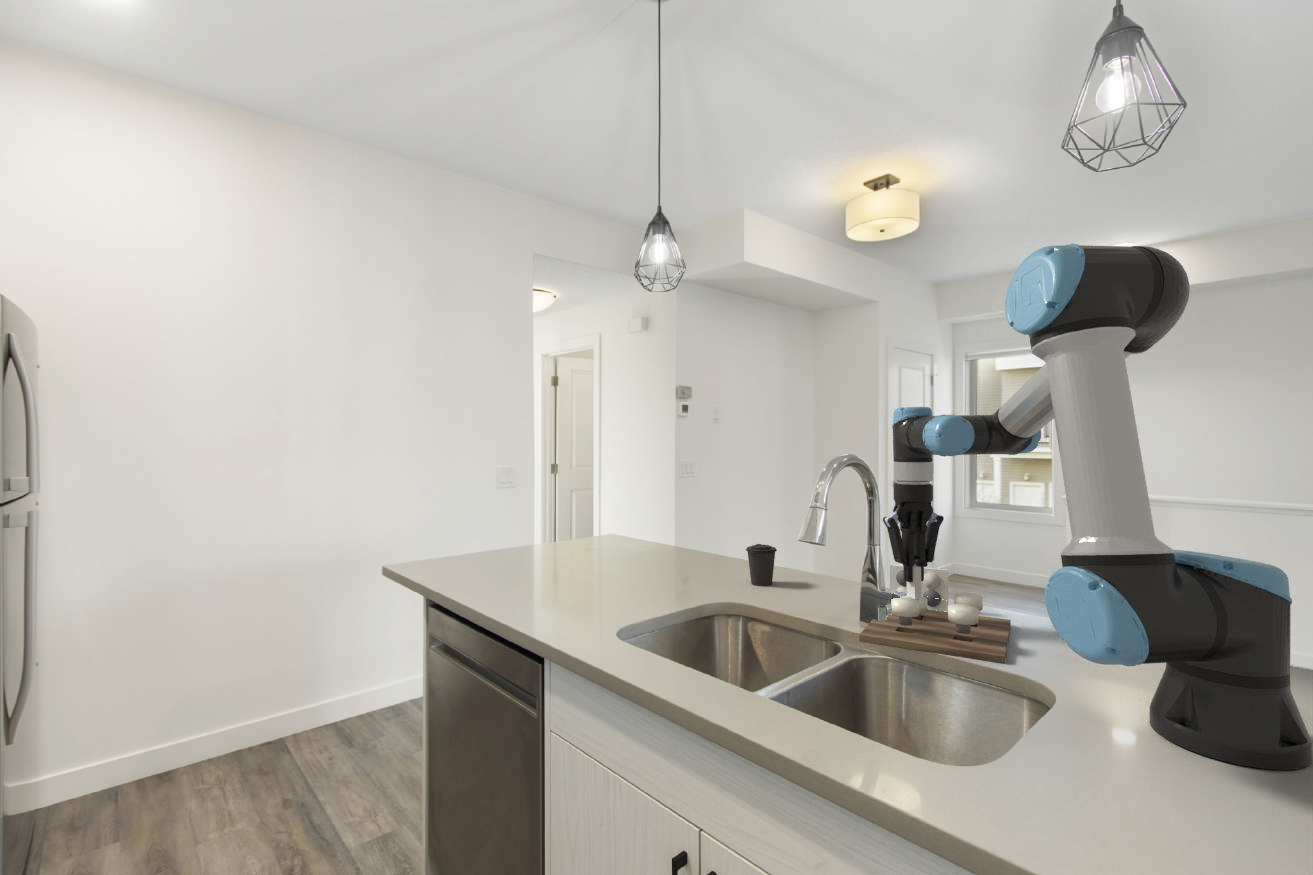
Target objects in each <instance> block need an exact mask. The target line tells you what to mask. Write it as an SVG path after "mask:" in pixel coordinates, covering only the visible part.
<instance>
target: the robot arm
mask: <svg viewBox="0 0 1313 875" xmlns="http://www.w3.org/2000/svg"><path fill="white" fill-rule="evenodd" d="M1190 291H1191V290H1190V280H1189V277H1188V274H1187V271H1186V270H1185V268H1184V266H1183V265H1182V263H1181V262H1180V261H1179V260H1178V259H1177V258H1175V257H1174V256H1173V255H1171V254H1170V253H1169V252H1166V251H1165V250H1161V249H1160V248H1156V247H1151V246H1145V245H1132V246H1128V245H1127V246H1125V245H1122V246H1121V245H1120V246H1119V245H1084V244H1083V245H1080V244H1077V243H1069V244H1064V245H1047V246H1043V247H1041V248H1038V249H1036V250H1034V251H1033V252H1031V253H1030V254H1029V255H1028V256H1027V257H1026V258H1024V259H1023V260H1022V261H1021V263H1020V265H1018V267H1017V269H1016V270H1015V271H1014V274H1013V277H1012V278H1011V280H1010V282H1009V285H1008V288H1007V292H1006V295H1005V302H1004V304H1005V305H1004V307H1005V308H1004V310H1005V316H1006V320H1007V323H1008V325H1009V327H1012V330H1014V331H1015V332H1017V333H1019V334H1021V335H1024V336H1025V335H1027V336H1029V342H1030V343H1029V344H1030V351H1031V354H1032V355H1034V357H1036V358H1039V359H1040V360H1042V361H1043V362H1045V363H1044V364H1043V365H1042V366H1041V367H1040V368H1039V369H1038V370H1037V371H1036V372H1035V373H1034V374H1033V375H1032V376H1031V377H1030V378H1029V379H1028V380H1027V381H1025V383H1024V384H1022V386H1020V388H1019V389H1018V390H1017V391H1016V392H1015V393H1014V394H1013V395H1011V397H1010V398H1008V400H1007V401H1006V402H1004V403H1003V405H1002V406H1001V407H999V408H998V409H997V410H996V411H995V412H994V413H993V414H975V415H974V414H971V415H968V414H967V415H965V414H963V415H962V414H960V415H959V414H957V415H956V414H940V415H933V410H932V409H931V407H929V406H910V407H909V406H908V407H897V408H895V409H894V411H893V414H892V415H893V418H892V424H891V426H892V427H891V428H892V449H893V450H892V452H893V454H892V455H893V456H892V457H893V480H894V481H896V482H894V484H893V486H892V487H893V500H894V507H893V509H892V513H890V515H889V516H884V517H882V522H883V524H884V525H885V527H886V530H887V533H888V537H889V542H890V546H891V550H892V555H893V559H894V562H895V563H898V564H901V565H902V566H903V567H904V581H907V592H908V593H907V596H908V597H911V598H913V599H921V581H923V580H924V568H927V567H928V563H932V562H933V561H934V556H935V552H936V546H937V541H938V537H939V532H940V527H941V525H942V524H943V521H945V520H944V516H943V515H940V514H937V513H936V512H934V507H933V505H932V502H933V501H934V485H933V484H932V483H931V482H932V481H934V464H933V463H934V458H933V457H934V456H940V457H955V456H966V455H967V456H970V455H972V456H973V455H976V456H977V455H1009V456H1015V455H1018V454H1027V453H1032V452H1033V451H1035V450H1036V449H1037V448H1038V446H1039V442H1040V441H1041V439H1042V429H1044V427H1045V426H1047V425H1048V424H1049V423H1050V422H1052V421H1053V420H1054V423H1055V424H1054V425H1055V431H1056V437H1057V445H1058V452H1059V458H1060V464H1061V472H1062V477H1063V478H1062V479H1063V484H1064V493H1065V499H1066V506H1067V512H1068V519H1069V525H1070V527H1069V528H1070V534H1071V540H1070V542H1069V543H1067V545H1066V546H1065V547H1064V548H1063V549H1062V550H1061V551H1060V560H1061V567H1060V568H1059V569H1058V570H1056V571H1054V572H1053V573H1052V574H1051V575H1050V576H1049V578H1048V579H1047V581H1048V584H1046V585H1045V589H1044V601H1045V602H1044V603H1045V607H1046V608H1045V609H1046V612H1047V614H1048V618H1049V620H1050V622H1051V624H1052V627H1053V629H1054V630H1055V631H1056V633H1057V634H1058V636H1059V637H1060V639H1061V640H1063V641H1064V642H1065V643H1066V646H1068V648H1070V650H1072V651H1073V652H1074V653H1075V654H1077V655H1078V656H1080V657H1081V658H1083V659H1085V660H1087V661H1089V662H1091V663H1094V664H1098V665H1104V666H1105V665H1107V666H1108V665H1113V666H1117V665H1118V666H1125V667H1136V666H1140V665H1143V664H1144V665H1145V664H1164V663H1165V669H1164V672H1163V673H1162V675H1161V679H1160V680H1159V683H1158V685H1157V688H1156V690H1155V693H1154V694H1153V697H1152V699H1151V702H1150V703H1149V724H1150V727H1151V728H1152V729H1153V731H1155V733H1157V734H1158V735H1160V736H1161V737H1163V738H1164V739H1166V740H1168V741H1169V742H1172V743H1173V744H1175V745H1178V746H1179V747H1181V748H1183V749H1185V750H1189V751H1192V752H1194V753H1197V754H1200V755H1202V756H1206V757H1209V758H1211V759H1215V760H1219V761H1222V762H1227V763H1231V764H1234V765H1239V766H1244V767H1245V766H1246V767H1251V768H1255V769H1256V768H1258V769H1264V770H1265V769H1266V770H1275V771H1277V770H1278V771H1279V770H1280V771H1281V770H1282V771H1285V770H1290V771H1291V770H1298V769H1303V768H1306V767H1308V766H1309V765H1310V764H1311V763H1312V761H1313V754H1312V753H1313V747H1312V746H1313V744H1312V743H1313V742H1312V739H1311V737H1310V734H1309V732H1308V729H1307V726H1306V724H1305V722H1304V720H1303V718H1302V716H1301V713H1300V710H1299V708H1298V704H1297V703H1296V701H1295V699H1294V695H1293V693H1292V690H1291V610H1292V609H1291V605H1292V604H1293V598H1291V596H1290V595H1291V593H1290V583H1289V577H1288V575H1287V574H1286V573H1285V571H1284V570H1283V569H1281V568H1280V567H1278V566H1275V565H1272V564H1270V563H1269V564H1268V563H1266V562H1261V561H1255V560H1250V559H1244V558H1239V557H1232V556H1226V555H1220V554H1219V555H1218V554H1215V553H1214V554H1213V553H1207V552H1200V551H1191V550H1181V549H1172V548H1171V547H1170V546H1169V545H1167V544H1165V543H1164V542H1162V541H1161V540H1159V539H1158V537H1157V536H1156V534H1155V527H1154V526H1155V525H1154V522H1153V515H1152V509H1151V503H1150V499H1149V498H1150V497H1149V492H1148V486H1147V481H1146V475H1145V468H1144V462H1143V456H1142V451H1141V445H1140V440H1139V433H1138V427H1137V422H1136V417H1135V410H1134V404H1133V398H1132V392H1131V387H1130V380H1129V375H1128V370H1127V369H1128V368H1127V363H1126V359H1127V358H1128V357H1130V356H1131V355H1139V354H1143V353H1146V351H1148V350H1150V349H1151V348H1152V347H1153V346H1154V345H1155V344H1157V343H1159V342H1160V341H1161V340H1162V339H1163V338H1164V337H1165V336H1166V335H1167V334H1168V333H1169V332H1170V331H1171V330H1172V329H1173V328H1174V327H1175V326H1176V324H1177V323H1178V321H1179V320H1180V318H1182V315H1183V314H1184V312H1185V309H1186V307H1187V304H1188V302H1189V299H1190Z"/></svg>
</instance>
